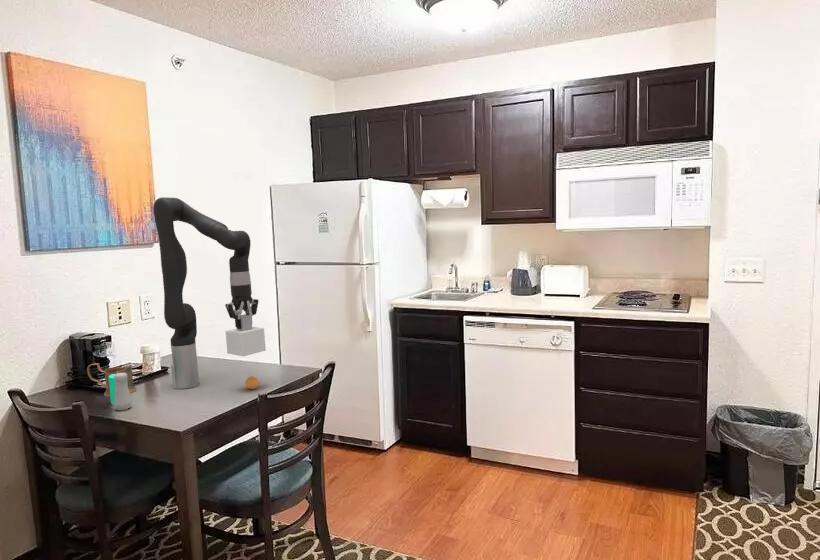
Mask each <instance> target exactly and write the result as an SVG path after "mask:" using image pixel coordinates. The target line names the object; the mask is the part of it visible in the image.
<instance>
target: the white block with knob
mask: <svg viewBox="0 0 820 560" xmlns="http://www.w3.org/2000/svg"><path fill="white" fill-rule="evenodd" d="M240 319H241V329H237V328H233V329H229V330H225V340H226V353H227V354H229V355H232V356H240V357H246V356H250V355H255V354H258V353H262V352H265V351H266V350H267V349H266V338H265V336H266V335H265V328H264V327H257V326H253V318H252V319H251V315H247V314H246V313H243V314H241V318H240Z"/></svg>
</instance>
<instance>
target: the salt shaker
mask: <svg viewBox="0 0 820 560" xmlns="http://www.w3.org/2000/svg"><path fill="white" fill-rule="evenodd" d="M127 378H128V376H127V374H126V373H118V374H115V376H114V380H115V381H116V389H115V400H114V405H113V406H114V407H115V408H116V410H117V411H119V410H123V411H127V410H129V409H128V408H130V409H131V406H132V403H133V397H132V396H131V394H130V392H129V389H128V386H127V383H126V379H127ZM126 409H127V410H126Z"/></svg>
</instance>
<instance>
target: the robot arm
mask: <svg viewBox="0 0 820 560" xmlns="http://www.w3.org/2000/svg"><path fill="white" fill-rule="evenodd" d="M152 209H153V216H154V217H153V218H154V221H155V227H156V232H157V236H158V237H157V238H158V244H159V251H160V266H161V267H160V268H161V274H162V284H163V293H164V295H163V296H164V297H163V299H164V300H163V302H164V303H163V314H164V315H163V317H164V321H165V323H166V325H167V327H169V328H170V329H172V330H174V332H173V335H172V336H171V338H170V349H171V360H172V361H171V362H172V364H171V365H170V367H171V377H172V378H171V379H172V388H173V389H178V390H181V389H182V390H183V389H190V388H194V387H197V386H199V385H200V377H199V365H198V356H197V355H198V353H197V343H196V337H197V333H198V331H197V330H198V329H197V326H198V325H197V315H196V311H195V309H194V307H193V306H192V304H189V303H187V302H186V303H185V302H184V298H183V297H184V296H183V290H184V286H185V284H186V283H185V282H186V279H187V274H188V265H187V255H186V252H185V249H184V248H183V247H182V244H181V243H180V241H179V240H178V237H177V235H176V232H175V224H174V222H182V223H185V224H188V225H190V226H192V227H194V229H196V230H197V231H198V232H199V233H200V234H201V235H204V236H206V237H207V238H210V239H212V240H214V241H216V242H217V243H218V244H220V245H221V246H222V247H224V248H225V249H228V250H230V251H233V255H232V256H231V257H230V258H229V261H228V262H229V263H228V266H229V284H230V295H231V298H232V299H231V302H229V303H226V304H225V305H224V307H225V309H226V311H227V313H228V316H229V318H230V319H234V325H235V329H241V319H240V318H241V315H242V314H243V311H244V314H247V315H251V319H252V320H253V316H255V315H256V314H257V311H258V305H259V299H258V298H257V299H254V298H253V297H252V281H251V273H250V265H249V257H250V251H251V246H252V245H251V238H250V235H249V233H248V232H246V231H245V230H231V229H229V228H228V226H227V225H226V224H225V223H223V222H220V221H219V220H216V219H214V218H211V217H210V216H207V215H206V214H204V213H201V212H199V211H198V210H196V209H195V208H193V207H192V206H190V205H189V204H188V203H186V202H185V201H183V200H182V199H180V198H178V197H159V198H157V199H156V200H155V202H154V204H153V208H152Z"/></svg>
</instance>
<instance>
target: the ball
mask: <svg viewBox="0 0 820 560" xmlns="http://www.w3.org/2000/svg"><path fill="white" fill-rule="evenodd" d="M244 382H245V383H244V384H245V387H246V388H247V389H249V390H255V389H256V388H258V386H259V383H260V381H259V379H258V378H257V377H256V376H253V375H252V376H249V377H247V378H246V379H245V381H244Z"/></svg>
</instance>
